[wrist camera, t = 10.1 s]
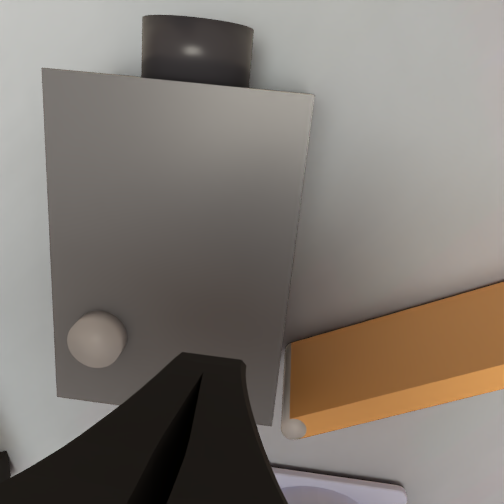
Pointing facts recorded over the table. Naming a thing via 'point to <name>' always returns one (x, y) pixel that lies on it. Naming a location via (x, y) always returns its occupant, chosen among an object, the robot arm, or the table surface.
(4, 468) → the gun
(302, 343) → the side door
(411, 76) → the table surface
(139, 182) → the camera housing
